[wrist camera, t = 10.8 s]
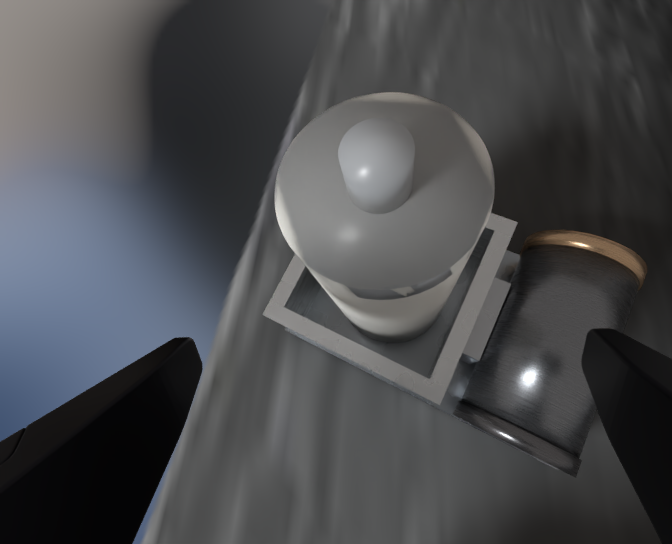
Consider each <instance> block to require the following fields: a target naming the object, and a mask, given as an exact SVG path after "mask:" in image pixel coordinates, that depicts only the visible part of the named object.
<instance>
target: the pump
mask: <svg viewBox="0 0 672 544" xmlns="http://www.w3.org/2000/svg"><path fill="white" fill-rule="evenodd" d="M494 195H495V178H494V170H493V165H492V162H491V159H490V155H489V153H488V151H487V149H486V146H485V144H484V142H483V141H482V139H481V138H480V136H479V135H478V133H477V132H476V131H475V130H474V129H473V127H472V126H471V125H470V124H469V123H468V122H467V121H466V120H465V119H464V118H462V117H461V116H460V115H459V114H458V113H456V112H455V111H453V110H451V109H450V108H448V107H447V106H445V105H443V104H441V103H439V102H436V101H434V100H431V99H428V98H425V97H422V96H418V95H413V94H407V93H398V92H383V93H374V94H368V95H363V96H359V97H355V98H352V99H349V100H346V101H344V102H342V103H339V104H337V105H335V106H333V107H331V108H329V109H328V110H326V111H324V112H323V113H321V114H320V115H319V116H317V117H316V118H315V119H313V120H312V121H311V122H310V123H309V124H308V125H307V126H305V127H304V128H303V129H302V130H301V131H300V133H299V134H298V135H297V136H296V138H295V139H294V140H293V141H292V143H291V145H290V146H289V148H288V149H287V151H286V153H285V155H284V157H283V159H282V161H281V164H280V167H279V170H278V173H277V178H276V183H275V195H274V200H275V211H276V215H277V219H278V223H279V226H280V228H281V231H282V233H283V236H284V237H285V239H286V241H287V242H288V244H289V246H290V247H291V248H292V250H293V251H294V252H295V253H296V255H297V256H298V257H299V258H300V260H301V261H302V262H303V263H304V265H305V266H306V267H307V268H308V270H309V271H310V272H311V273H312V275H313V276H314V277H315V278H316V280H317V281H318V282H319V283H320V285H321V286H322V287H323V288H324V290H325V291H326V292H327V293H328V295H329V296H330V297H331V298H332V300H333V301H334V302H335V303H336V305H337V306H338V307H339V308H340V310H341V311H342V312H343V313H344V315H345V316H346V317H347V318H348V320H349V321H350V322H351V323H352V325H353V326H354V327H355V328H356V329H357V330H358V331H360V332H361V333H363V334H364V335H366V336H368V337H369V338H372V339H374V340H377V341H381V342H388V343H398V342H405V341H408V340H411V339H414V338H416V337H418V336H420V335H421V334H423V333H424V332H426V331H427V330H428V329H429V328H430V327H431V326H432V325H433V324H434V323H435V321H436V320H437V319H438V317H439V315H440V313H441V311H442V309H443V307H444V305H445V303H446V301H447V300H448V298H449V296H450V294H451V292H452V290H453V288H454V286H455V284H456V282H457V280H458V278H459V276H460V274H461V272H462V271H463V269H464V267H465V265H466V263H467V261H468V259H469V257H470V255H471V253H472V251H473V249H474V247H475V245H476V243H477V242H478V240H479V238H480V236H481V234H482V232H483V230H484V228H485V226H486V224H487V222H488V219H489V216H490V213H491V210H492V207H493V201H494Z"/></svg>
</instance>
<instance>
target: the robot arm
mask: <svg viewBox="0 0 672 544" xmlns="http://www.w3.org/2000/svg"><path fill="white" fill-rule="evenodd" d="M581 365H582V370H583V373H584V375H585V378H586V381H587V383H588V386H589V389H590V391H591V394H592V397H593V399H594V402H595V405H596V407H597V410H598V413H599V415H600V418H601V421H602V423H603V426H604V428H605V431H606V433H607V436H608V438H609V440H610V442H611V444H612V446H613V448H614V450H615V452H616V454H617V456H618V458H619V460H620V462H621V464H622V466H623V468H624V470H625V472H626V474H627V476H628V478H629V479H630V481H631V483H632V485H633V487H634V489H635V491H636V493H637V495H638V497H639V499H640V501H641V503H642V505H643V507H644V509H645V511H646V513H647V515H648V517H649V519H650V521H651V522H652V524H653V526H654V528H655V530H656V532H657V534H658V536H659V538H660V540H661V542H662V544H672V359H670V358H668V357H666V356H665V355H663V354H661V353H659V352H657V351H655V350H653V349H651V348H649V347H647V346H645V345H643V344H641V343H640V342H638V341H636V340H634V339H632V338H630V337H628V336H626V335H624V334H622V333H620V332H618V331H616V330H614V329H611V328H596V329H591V330H589V331H588V333H587V336H586V340H585V345H584V349H583V354H582V359H581ZM201 373H202V361H201V359H200V356H199V353H198V350H197V348H196V345H195V342H194V341H193V339H192V338H189V337H182V338H181V337H179V338H174V339H172V340H170V341H168V342H167V343H165V344H163V345H162V346H160V347H158V348H157V349H155V350H153V351H152V352H150V353H148V354H147V355H145V356H144V357H142V358H140V359H138V360H137V361H135V362H133V363H132V364H130V365H128V366H127V367H125V368H123V369H122V370H120V371H118V372H117V373H115V374H113V375H112V376H110V377H108V378H106V379H105V380H103V381H102V382H100V383H98V384H96V385H95V386H93V387H91V388H90V389H88V390H86V391H85V392H83V393H81V394H80V395H78V396H76V397H75V398H73V399H71V400H70V401H68V402H66V403H65V404H63V405H61V406H60V407H58V408H56V409H55V410H53V411H51V412H50V413H48V414H46V415H45V416H43V417H41V418H40V419H38V420H36V421H34V422H33V423H31V424H29V425H28V426H27V427H26V428H23V429H21V430H19V431H18V432H16V433H14V434H13V435H11V436H9V437H8V438H6V439H5V440H2V441H1V442H0V544H132V543H133V541H134V539H135V537H136V534H137V532H138V530H139V527H140V525H141V523H142V521H143V518H144V516H145V514H146V512H147V509H148V507H149V505H150V503H151V500H152V498H153V496H154V493H155V491H156V489H157V487H158V485H159V482H160V480H161V478H162V476H163V473H164V471H165V469H166V467H167V464H168V462H169V460H170V458H171V455H172V453H173V451H174V449H175V446H176V444H177V442H178V440H179V437H180V435H181V432H182V430H183V428H184V425H185V422H186V419H187V416H188V413H189V410H190V407H191V404H192V401H193V398H194V395H195V392H196V389H197V386H198V383H199V379H200V376H201Z"/></svg>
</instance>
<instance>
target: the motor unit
mask: <svg viewBox="0 0 672 544" xmlns="http://www.w3.org/2000/svg"><path fill="white" fill-rule="evenodd" d="M517 223H518V222H516V221H513V220H510V219H507V218H504V217H502V216H499V215H496V214H493V213H490V216H489V219H488V222H487V224H486V226H485V228H484V230H483V232H482V234H481V236H480V238H479V240H478V242H477V243H476V245H475V247H474V249H473V251H472V253H471V255H470V257H469V259H468V261H467V263H466V265H465V267H464V269H463V271H462V272H461V274H460V276H459V278H458V280H457V282H456V284H455V286H454V288H453V290H452V292H451V294H450V296H449V298H448V300H447V301H446V303H445V305H444V307H443V309H442V311H441V313H440V315H439V317H438V319H437V320H436V321H435V323H434V324H433V325H432V326H431V327H430V328H429V329H428V330H427V331H426V332H424V333H423V334H421V335H420V336H418V337H416V338H414V339H411V340H408V341H405V342H398V343H388V342H381V341H377V340H374V339H372V338H369V337H368V336H366V335H364V334H363V333H361V332H360V331H358V330H357V329H356V328H355V327H354V326H353V325H352V323H351V322H350V321H349V320H348V318H347V317H346V316H345V315H344V313H343V312H342V311H341V310H340V308H339V307H338V306H337V305H336V303H335V302H334V301H333V300H332V298H331V297H330V296H329V295H328V293H327V292H326V291H325V290H324V288H323V287H322V286H321V285H320V283H319V282H318V281H317V280H316V278H315V277H314V276H313V275H312V273H311V272H310V271H309V270H308V268H307V267H306V266H305V265H304V263H303V262H302V261H301V260H300V258H299V257H298V256H297V255H296V253H295V255H294V257H293V259H292V261H291V263H290V265H289V266H288V268H287V270H286V272H285V274H284V276H283V278H282V279H281V281H280V283H279V285H278V287H277V289H276V291H275V292H274V294H273V296H272V298H271V300H270V302H269V304H268V305H267V307H266V309H265V311H264V313H263V315H264V316H266V317H268V318H270V319H272V320H274V321H276V322H278V323H280V324H282V325H284V326H285V327H286V328H285V330H286V331H288V332H290V333H292V334H293V335H295V336H297V337H299V338H301V339H303V340H305V341H307V342H309V343H311V344H313V345H315V346H317V347H319V348H321V349H323V350H325V351H327V352H329V353H330V354H332V355H334V356H336V357H338V358H340V359H342V360H344V361H346V362H348V363H350V364H352V365H354V366H356V367H358V368H360V369H362V370H364V371H365V372H367V373H369V374H371V375H373V376H375V377H377V378H379V379H381V380H383V381H385V382H387V383H389V384H391V385H393V386H395V387H397V388H399V389H400V390H402V391H404V392H406V393H408V394H410V395H412V396H414V397H416V398H418V399H420V400H422V401H424V402H426V403H428V404H430V405H432V406H434V407H436V408H437V409H439V410H441V411H443V412H445V413H447V414H449V415H451V416H453V417H455V418H457V419H459V420H461V421H463V422H465V423H467V424H469V425H471V426H472V427H474V428H476V429H478V430H480V431H482V432H484V433H486V434H488V435H490V436H492V437H494V438H496V439H498V440H500V441H502V442H504V443H506V444H508V445H509V446H511V447H513V448H515V449H517V450H519V451H521V452H523V453H525V454H527V455H529V456H531V457H533V458H535V459H537V460H539V461H541V462H543V463H544V464H546V465H548V466H550V467H552V468H554V469H556V470H559V469H560V470H562V471H564V472H566V473H568V474H570V475H572V476H574V477H576V476H577V473H578V470H579V467H580V464H581V462H582V460H580V459H579V458H580V455H581V452H582V449H583V446H584V444H585V441H586V438H587V435H588V432H589V429H590V426H591V423H592V421H593V418H594V415H595V412H596V409H597V407H596V405H595V402H594V399H593V397H592V394H591V391H590V389H589V386H588V383H587V381H586V378H585V375H584V373H583V370H582V365H581V359H582V354H583V349H584V345H585V340H586V336H587V333H588V331H589V330H591V329H596V328H611V329H614V330H616V331H618V332H620V333H622V334H623V331H624V328H625V326H626V323H627V320H628V317H629V314H630V311H631V308H632V305H633V303H634V300H635V297H636V294H637V291H639V290H640V289H641V287H642V285H643V282H644V280H645V277H646V274H647V269H648V268H647V265H646V263H645V261H644V260H643V259H642V258H641V257H640V256H639V255H638V254H637V253H635V252H634V251H632V250H631V249H629V248H627V247H625V246H623V245H621V244H619V243H617V242H615V241H612V240H609V239H607V238H603V237H600V236H597V235H593V234H589V233H584V232H578V231H571V230H545V231H540V232H536V233H533V234H531V235H530V236H528V237H527V238H526V240H525V242H524V244H523V247H522V249H521V252H520V255H518V254H516V253H513V252H510V251H508V250H506V249H507V247H508V244H509V242H510V240H511V237H512V235H513V232H514V230H515V228H516V225H517Z"/></svg>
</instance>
